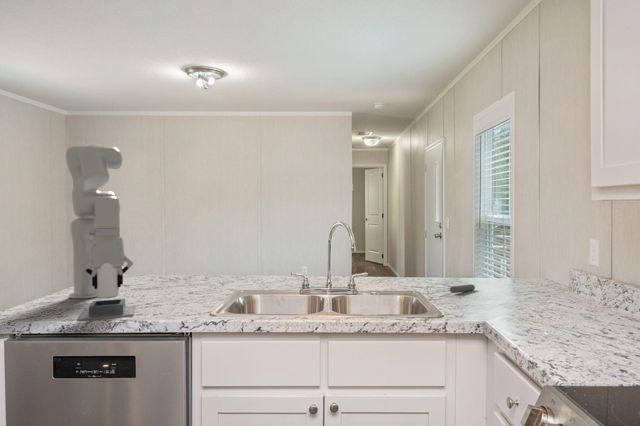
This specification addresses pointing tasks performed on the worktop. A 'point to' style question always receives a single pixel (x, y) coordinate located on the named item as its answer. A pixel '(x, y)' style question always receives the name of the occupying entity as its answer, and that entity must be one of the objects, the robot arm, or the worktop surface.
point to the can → (107, 281)
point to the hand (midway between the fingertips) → (107, 287)
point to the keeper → (107, 310)
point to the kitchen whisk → (454, 289)
